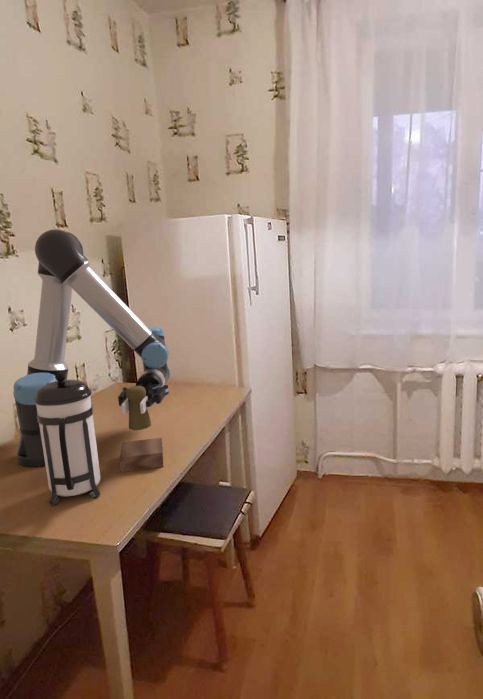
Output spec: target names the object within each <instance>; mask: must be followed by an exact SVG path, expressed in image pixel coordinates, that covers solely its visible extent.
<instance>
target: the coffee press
mask: <svg viewBox="0 0 483 699" xmlns="http://www.w3.org/2000/svg"><path fill="white" fill-rule="evenodd" d="M65 377H66V376H65V374H64V373H62V372H59V373H57V374H56V376H55V378H56V380H57V381H55V382H51V383H48V384H46V385H43V386H42V387H40V388H39V389H38V390H37V392H36V395H35V397H34V403H35V404H36V406H37V420H38V423H39V426H40V433H41V439H42V446H43V453H44V459H45V465H44V466H45V471H46V476H47V477H46V478H47V483H48V485H47V486H48V489H49V491H50V492H51V495H50V498H49V500H48V503H49V505H51V506H52V505H53V506H57V505H58V503H59V502H60V500H61V498H62V497H73V496H78V495H82V494H85V493H88V494H89V495H90V497H92V498H93V499H96V498H98V497H100V496H101V492H100V489H98V487H97V486H98V485H99V483H100V481H101V471H100V462H99V454H98V446H97V439H96V430H95V424H94V406H93V403H92V399H91V396H92V389H91V388H90V387H89V386H88V384H87V383H86V382H84V381H82V380H79V379H67V380H65Z"/></svg>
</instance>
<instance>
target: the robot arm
mask: <svg viewBox="0 0 483 699" xmlns="http://www.w3.org/2000/svg"><path fill="white" fill-rule="evenodd" d="M34 253H35V254H34V255H35V258H36V259H37V261H38V266H37V275H38V276H39V277H40V279H41V280H42V283H41V291H40V292H41V293H40V301H39V310H38V311H39V313H38V319H37V320H38V321H37V330H36V340H35V348H34V355H33V356H34V358H33V359H32V360H31V361H29V362H28V364H27V372H26V375H24V376H21V377H20V378H18V379H16V381H15V382H14V384H13V398H14V400H15V401H14V402H15V407H16V414H17V421H18V425H19V426H18V427H19V432H20V437H19V441H18V448H17V453H16V456H17V462H18V464H19V465H21V466H23V467H33V468H35V467H43V466H45V459H44V453H43V446H42V439H41V433H40V426H39V423H38V420H37V406H36V404H35V403H34V397H35V395H36V392H37V390H38V389H39V388H40V387H42V386H43V385H46V384H48V383H51V382H55V381H57V380H56V378H55V376H56V374H57V373H59V372H62V373H64V374H65V376H66V377H65V380H68V376H69V365H68V364H67V363H66V361H65V356H66V346H67V337H68V329H69V320H70V311H71V303H72V294H73V291H74V292H76V294H77V295H78V296H79V297H81V299H82V300H83V301H84V302H85V303H86V304H87V305H88V306H89V307H90V308H91V309H93V310H94V312H95V313H96V314H97V315H98V316H99V317H100V318H101V319H102V320H103V321H104V322H105V323H106V324H107V325H108V326H109V327H110V328H111V329H112V330H113V331H115V333H116V334H117V335H118V336H119V337H120V338H122V340H123V341H124V342H125V343H126V344H127V345H128V346H129V347H130V348H131V349H132V350H133V351H134V352H135V353H136V355H138V357H139V358H141V360H142V367H143V373H142V374H141V375H140V377H139V378H138V379H137V380H136V383H135V385H134V386H142V387H144V388H145V390H146V396H145V398H143V400H142V401H141V403H140V409H141V414H144V413H145V411H146V409H148V408H151V407H152V405H154V403H155V404H156V405H159V404H161V403H162V401H163V399H164V398H165V397H166V396H168V395H169V394H170V391H169V384H167V383H168V381H169V379H170V375H171V370H170V367H169V366H168V360H169V353H170V352H169V350H168V348H167V345H166V342H165V333H164V329H163V328H162V327H161V326H151V327H148V326H147V325H146V324H145V323H144V321H142V319H140V318H139V317H138V316H137V315H136V314H135V313H134V312H133V310H132V309H131V308H130V307H129V306H128V305H127V304H126V303H125V302H124V301H123V300H122V299H121V298H120V297H119V296H118V295H117V294H116V293H115V292H114V291H113V290H112V288H111V287H109V285H108V284H107V283H106V282H105V281H104V280H103V279H102V278H101V277H100V276H99V275H98V274H97V273H96V272H95V271H94V269H93V268H91V267H90V260H89V259H88V258H87V257H86V256H85V254H84V248H83V244H82V242H81V241H80V239H79V238H78V237H77V236H76V235H74V234H73V233H71V232H70V231H65V230H62V229H57V228H56V229H55V228H53V229H49V230H47V231H44V232H43V233H41V234H40V235H39V237H37V240H36V241H35V245H34ZM128 388H129V387H123V388H122V391H121V392H120V393H119V394H118V396H117V398H118V406H119V407H121V410H122V411H121V412H122V415H123V416H124V415H127V413H129V399H128V398H127V396H126V391H127V389H128Z"/></svg>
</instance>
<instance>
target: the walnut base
mask: <svg viewBox="0 0 483 699" xmlns="http://www.w3.org/2000/svg"><path fill="white" fill-rule="evenodd" d="M118 457H119V458H118V459H119V460H118V461H119V465H120V466H119V467H120V472H121V473H123V472H124V473H125V472H131V471H133V472H134V471H139V470H148V469H156V468H157V469H158V468H164V446H163V438H162V437H156V438H154V437H153V438H148V439H139V440H130V441H123V442H121V449H120V453H119V456H118Z"/></svg>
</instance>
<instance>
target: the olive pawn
mask: <svg viewBox="0 0 483 699" xmlns="http://www.w3.org/2000/svg"><path fill="white" fill-rule="evenodd" d="M127 388H128V389H127V391H126V396H127V398H128V399H129V411H128V429H129V430H131V431H141V430H142V431H143V430H145V429H149V428H150V427H151V426H152V421H151V418H150V414H149V409H148V408H147V409H146V411H145V413H144V414H141V409H140V403H141V401H142V400H143V398H145V396H146V390H145V388H144V387H142V386H135V385H134V386H133V385H132V386H130V387H127Z"/></svg>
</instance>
